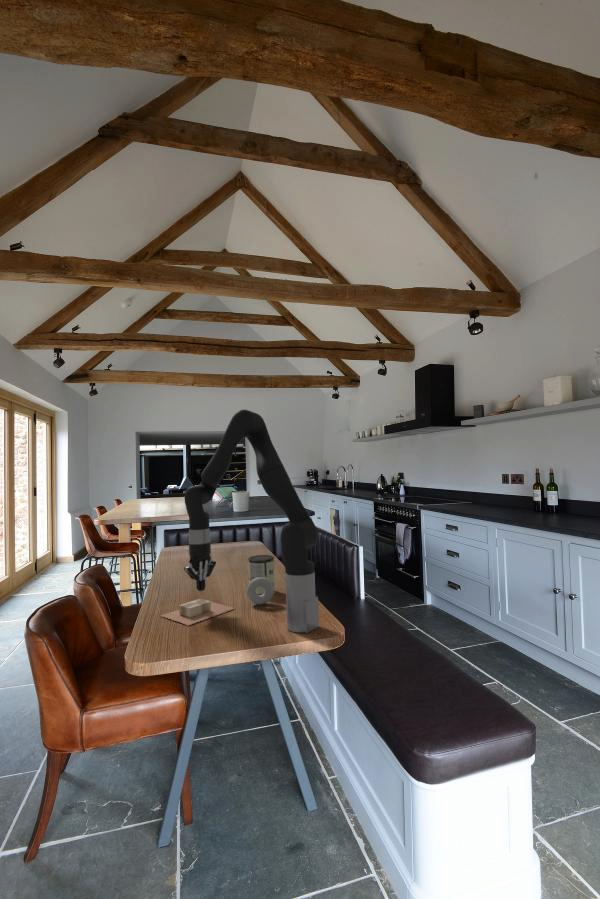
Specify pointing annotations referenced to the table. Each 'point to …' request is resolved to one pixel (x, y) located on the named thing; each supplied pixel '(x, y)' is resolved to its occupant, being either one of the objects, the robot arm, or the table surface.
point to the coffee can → (261, 570)
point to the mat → (215, 610)
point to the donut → (264, 597)
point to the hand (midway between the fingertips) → (201, 590)
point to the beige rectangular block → (194, 608)
